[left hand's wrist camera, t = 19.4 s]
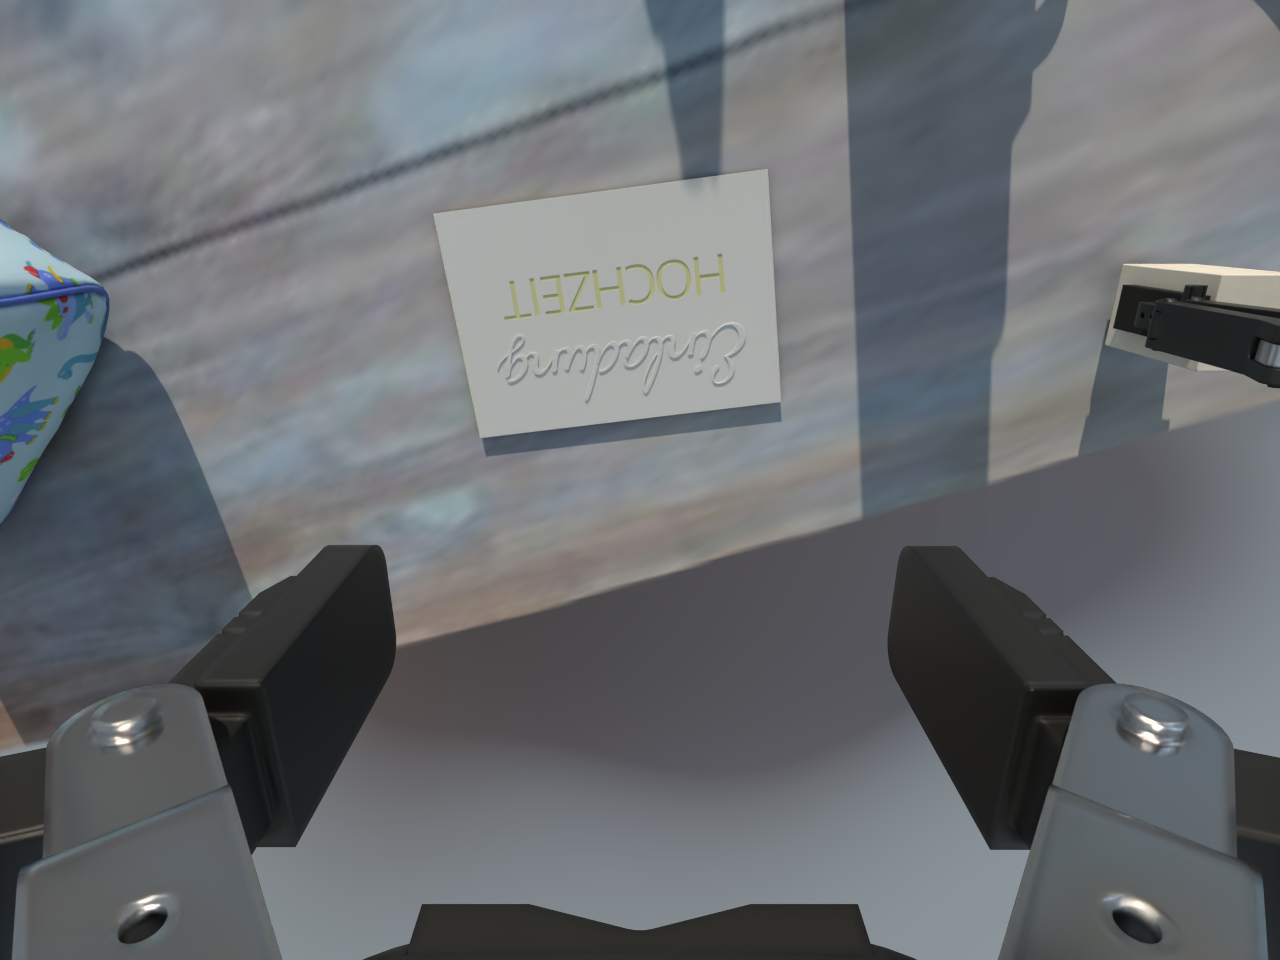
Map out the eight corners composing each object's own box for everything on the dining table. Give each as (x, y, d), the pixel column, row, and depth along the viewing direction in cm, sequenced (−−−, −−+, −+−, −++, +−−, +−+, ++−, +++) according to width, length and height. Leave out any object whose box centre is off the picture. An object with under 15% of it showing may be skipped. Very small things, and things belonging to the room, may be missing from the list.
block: (1192, 263, 46) (1308, 274, 38) (1171, 345, 48) (1277, 371, 40) (1122, 264, 46) (1222, 274, 38) (1104, 345, 48) (1196, 371, 40)
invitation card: (768, 168, 44) (781, 402, 50) (767, 168, 45) (780, 401, 50) (432, 213, 45) (479, 438, 50) (434, 213, 46) (480, 437, 51)
